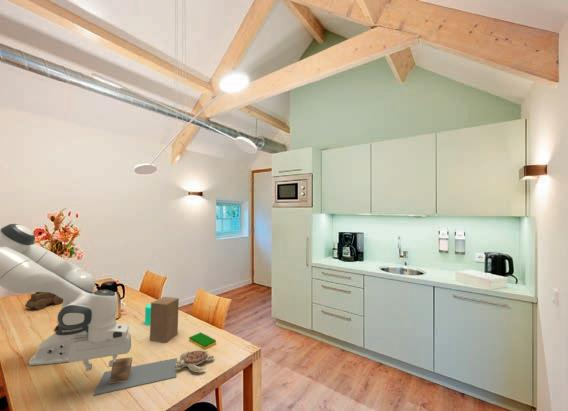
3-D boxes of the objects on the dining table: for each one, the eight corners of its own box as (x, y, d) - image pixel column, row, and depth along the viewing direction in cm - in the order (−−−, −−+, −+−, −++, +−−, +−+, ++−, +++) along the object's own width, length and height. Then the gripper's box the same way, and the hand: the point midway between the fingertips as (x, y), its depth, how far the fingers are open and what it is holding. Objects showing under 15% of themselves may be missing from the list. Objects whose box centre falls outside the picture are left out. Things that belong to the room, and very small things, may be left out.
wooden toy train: (58, 300, 186) (59, 278, 186) (68, 302, 182) (69, 279, 183) (23, 309, 167) (24, 285, 167) (33, 312, 163) (34, 287, 164)
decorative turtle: (167, 361, 110) (167, 350, 110) (201, 349, 122) (202, 338, 122) (183, 381, 97) (184, 368, 97) (220, 365, 109) (221, 354, 109)
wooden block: (165, 343, 127) (167, 304, 127) (149, 340, 129) (150, 302, 129) (177, 334, 136) (179, 297, 137) (162, 332, 138) (163, 296, 139)
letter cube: (109, 383, 95) (111, 367, 95) (113, 374, 100) (115, 359, 101) (127, 381, 97) (129, 365, 97) (130, 372, 102) (132, 357, 103)
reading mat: (93, 395, 89) (93, 394, 89) (104, 372, 102) (104, 371, 102) (176, 377, 100) (176, 376, 100) (177, 358, 113) (177, 357, 113)
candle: (142, 324, 148) (143, 304, 148) (151, 320, 153) (151, 301, 154) (149, 326, 146) (150, 305, 146) (158, 321, 151) (158, 302, 152)
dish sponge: (200, 336, 135) (200, 332, 135) (216, 344, 126) (216, 340, 127) (188, 341, 129) (188, 337, 129) (204, 350, 121) (204, 345, 121)
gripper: (65, 340, 90) (63, 378, 89) (129, 331, 98) (128, 367, 97) (72, 332, 96) (70, 368, 95) (133, 325, 103) (131, 358, 103)
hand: (100, 367), depth 96 cm, fingers open, 6 cm apart
